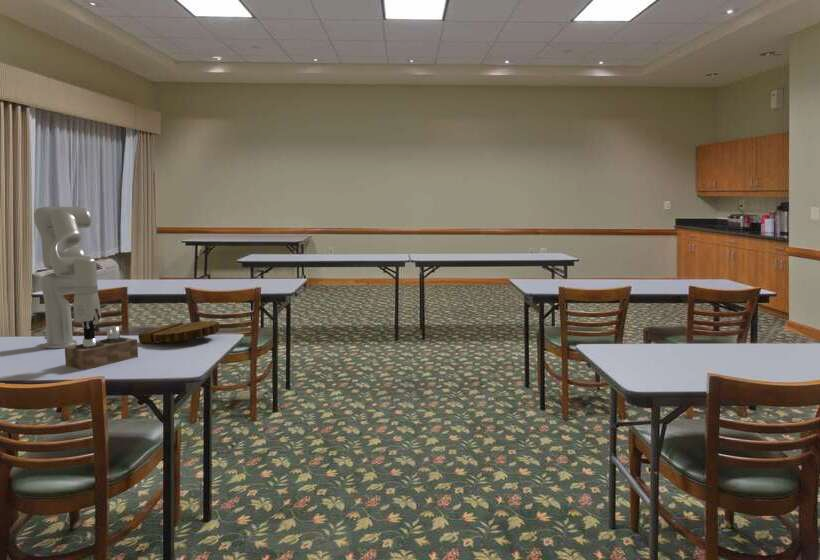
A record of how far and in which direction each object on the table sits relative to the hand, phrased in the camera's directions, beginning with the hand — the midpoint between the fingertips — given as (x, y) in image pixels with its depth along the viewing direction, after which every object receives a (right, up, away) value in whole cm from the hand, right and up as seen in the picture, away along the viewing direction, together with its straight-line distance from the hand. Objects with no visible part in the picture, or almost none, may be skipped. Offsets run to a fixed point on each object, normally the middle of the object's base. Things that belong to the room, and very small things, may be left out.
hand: (89, 338), depth 221 cm
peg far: (+4, -4, +10) cm, 11 cm away
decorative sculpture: (+19, -5, +44) cm, 48 cm away
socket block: (+2, -9, +6) cm, 11 cm away
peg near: (0, -8, +1) cm, 8 cm away
